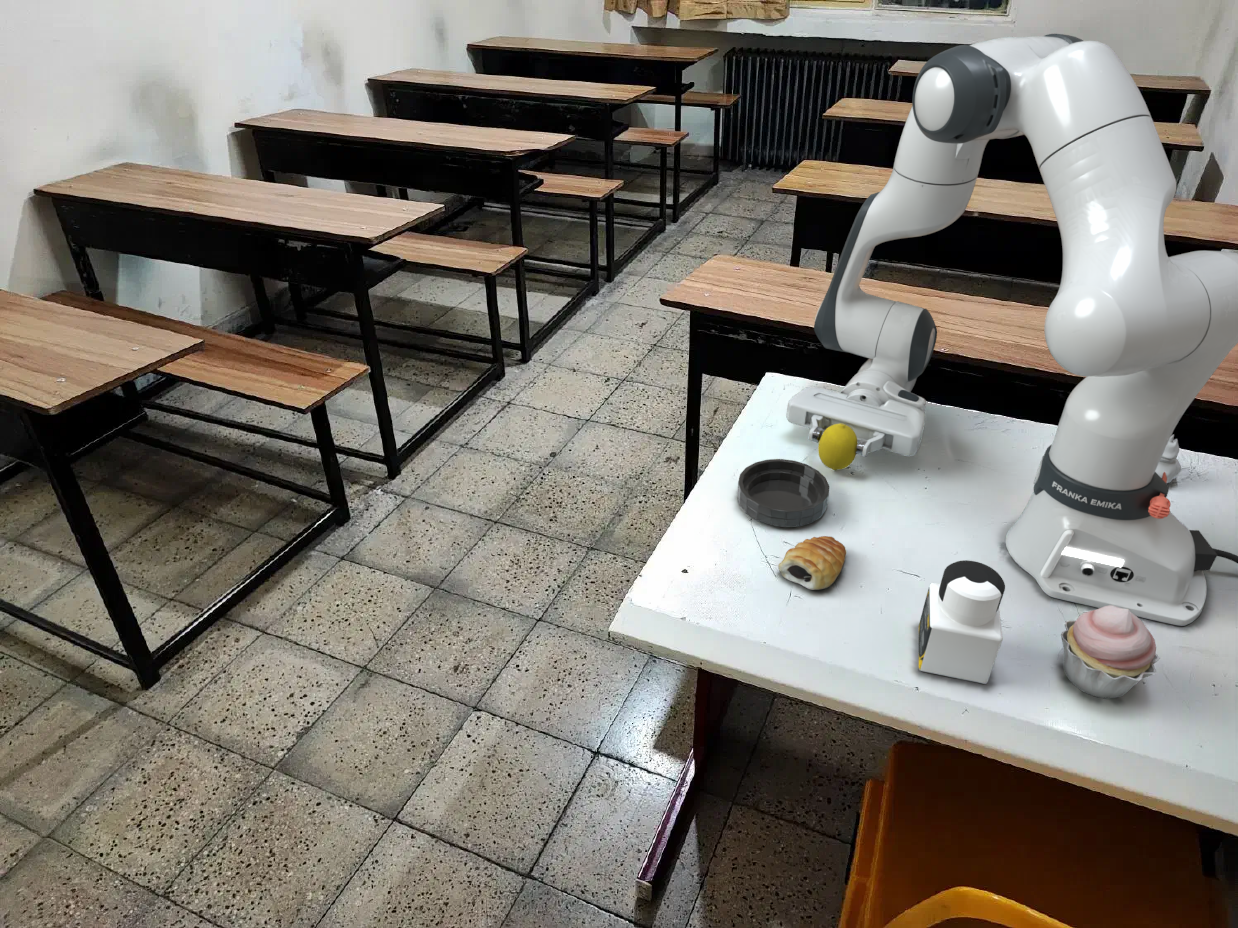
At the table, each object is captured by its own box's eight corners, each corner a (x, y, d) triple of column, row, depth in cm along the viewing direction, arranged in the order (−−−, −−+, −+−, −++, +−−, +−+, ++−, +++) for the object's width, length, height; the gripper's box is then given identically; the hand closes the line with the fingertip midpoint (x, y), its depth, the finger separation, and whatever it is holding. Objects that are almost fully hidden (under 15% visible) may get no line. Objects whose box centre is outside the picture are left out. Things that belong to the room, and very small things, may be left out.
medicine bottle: (917, 626, 95) (938, 547, 89) (983, 638, 94) (1009, 559, 87) (917, 671, 90) (940, 591, 83) (987, 685, 88) (1016, 604, 81)
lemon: (853, 482, 119) (862, 436, 115) (815, 478, 120) (821, 432, 116) (852, 461, 124) (860, 416, 119) (815, 457, 125) (822, 412, 120)
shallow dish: (839, 493, 117) (842, 475, 115) (806, 540, 108) (809, 522, 107) (759, 467, 123) (761, 450, 121) (722, 511, 114) (723, 492, 112)
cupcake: (1164, 704, 85) (1201, 637, 80) (1082, 717, 84) (1113, 649, 79) (1107, 639, 93) (1137, 574, 87) (1031, 649, 92) (1056, 584, 86)
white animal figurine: (1135, 487, 117) (1155, 440, 112) (1127, 462, 122) (1145, 416, 118) (1178, 493, 116) (1200, 446, 111) (1167, 467, 121) (1188, 421, 116)
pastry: (812, 539, 109) (815, 516, 106) (858, 561, 105) (863, 538, 103) (773, 575, 103) (776, 552, 101) (821, 600, 99) (825, 576, 97)
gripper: (807, 369, 131) (772, 407, 121) (937, 402, 122) (910, 445, 112) (803, 403, 134) (768, 442, 125) (929, 438, 125) (902, 483, 116)
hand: (836, 444), depth 118 cm, fingers open, 6 cm apart
